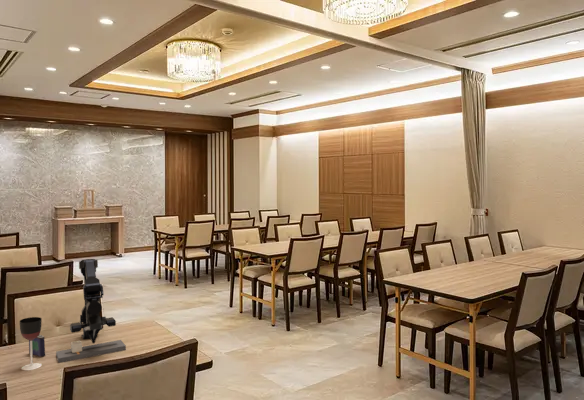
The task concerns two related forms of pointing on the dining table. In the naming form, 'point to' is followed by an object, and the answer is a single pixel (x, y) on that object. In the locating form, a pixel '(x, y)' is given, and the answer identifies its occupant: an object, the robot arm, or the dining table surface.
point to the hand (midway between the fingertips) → (93, 343)
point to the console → (91, 351)
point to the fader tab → (76, 346)
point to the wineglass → (30, 336)
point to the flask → (38, 346)
